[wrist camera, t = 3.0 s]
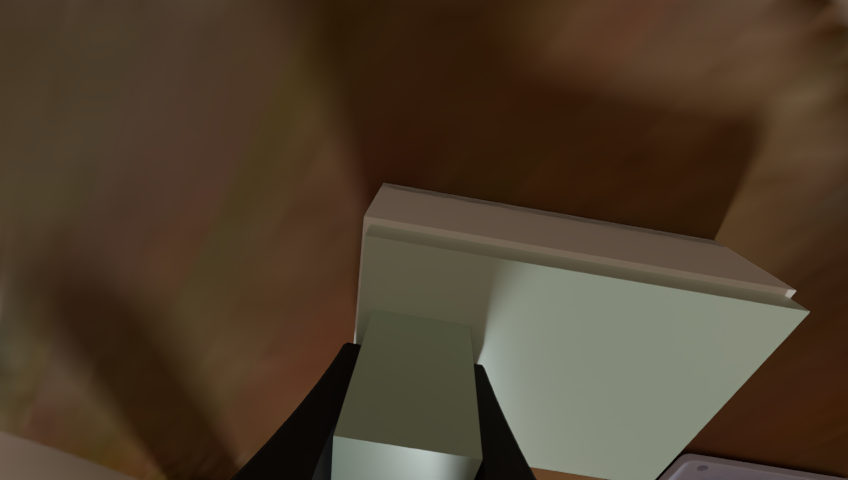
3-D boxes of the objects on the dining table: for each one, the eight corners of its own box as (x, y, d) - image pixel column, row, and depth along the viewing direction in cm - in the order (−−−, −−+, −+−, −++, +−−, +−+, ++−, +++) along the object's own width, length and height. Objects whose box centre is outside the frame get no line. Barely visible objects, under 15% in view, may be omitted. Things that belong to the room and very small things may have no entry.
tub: (715, 240, 11) (796, 290, 9) (608, 402, 16) (641, 469, 13) (383, 182, 11) (364, 216, 9) (364, 362, 15) (347, 422, 13)
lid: (784, 295, 9) (1041, 461, 5) (639, 465, 13) (721, 630, 9) (370, 224, 9) (311, 340, 5) (352, 419, 13) (312, 569, 9)
